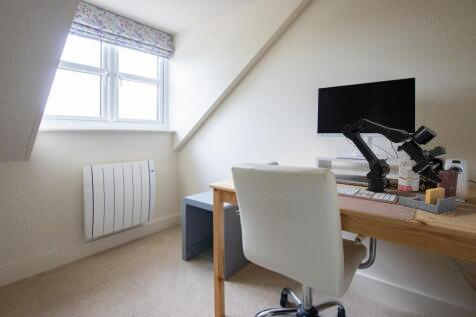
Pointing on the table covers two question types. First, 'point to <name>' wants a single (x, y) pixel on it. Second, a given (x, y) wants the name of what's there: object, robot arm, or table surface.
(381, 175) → the robot arm
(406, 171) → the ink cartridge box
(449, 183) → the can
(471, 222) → the table surface
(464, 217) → the table surface
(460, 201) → the table surface
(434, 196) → the wedge
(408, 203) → the grey shallow open box
